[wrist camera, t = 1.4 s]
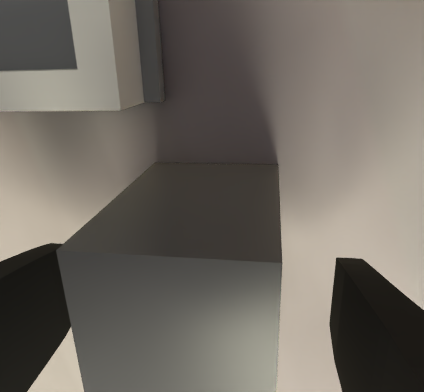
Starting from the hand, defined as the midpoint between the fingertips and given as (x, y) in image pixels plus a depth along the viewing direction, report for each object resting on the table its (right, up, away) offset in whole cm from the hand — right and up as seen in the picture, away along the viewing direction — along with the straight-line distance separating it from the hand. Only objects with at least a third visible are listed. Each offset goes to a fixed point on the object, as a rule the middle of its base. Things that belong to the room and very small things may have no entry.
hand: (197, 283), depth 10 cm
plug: (+1, +1, +3) cm, 3 cm away
